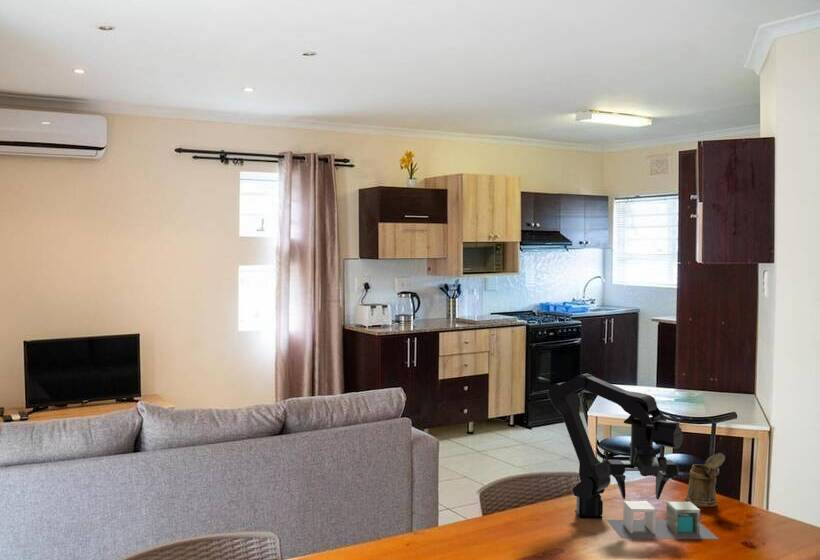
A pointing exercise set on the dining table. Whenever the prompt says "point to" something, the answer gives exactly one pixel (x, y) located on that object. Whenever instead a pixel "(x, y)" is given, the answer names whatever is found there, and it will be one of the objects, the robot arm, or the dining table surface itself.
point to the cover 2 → (682, 508)
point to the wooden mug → (704, 481)
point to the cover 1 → (639, 507)
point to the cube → (685, 522)
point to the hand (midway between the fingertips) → (640, 498)
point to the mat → (657, 531)
